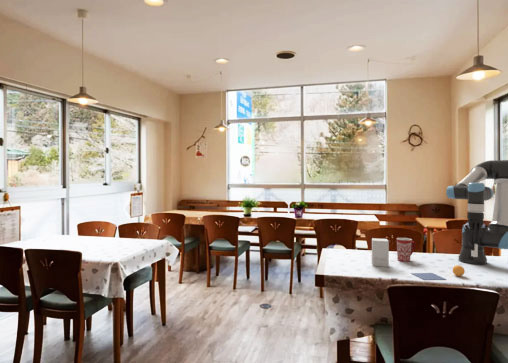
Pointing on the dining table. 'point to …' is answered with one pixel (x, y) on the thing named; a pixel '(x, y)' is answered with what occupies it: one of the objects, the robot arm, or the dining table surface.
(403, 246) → the mug
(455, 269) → the ball
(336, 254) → the dining table surface
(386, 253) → the supplement box
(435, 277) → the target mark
